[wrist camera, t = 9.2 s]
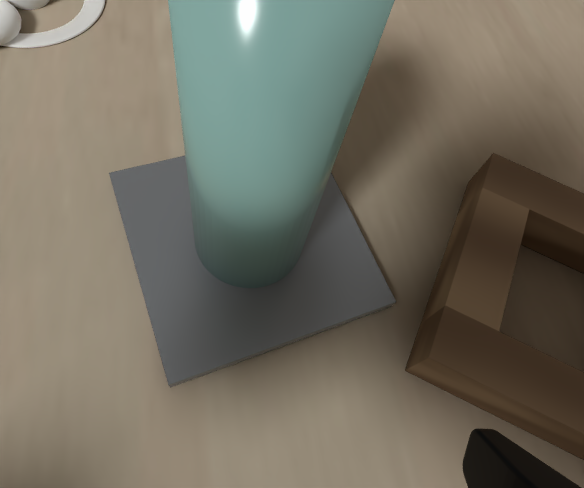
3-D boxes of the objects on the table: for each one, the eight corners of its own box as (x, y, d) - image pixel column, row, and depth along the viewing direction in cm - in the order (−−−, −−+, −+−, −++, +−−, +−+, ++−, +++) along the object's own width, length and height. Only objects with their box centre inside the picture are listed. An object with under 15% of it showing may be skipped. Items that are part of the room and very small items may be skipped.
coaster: (391, 306, 21) (396, 301, 20) (170, 387, 18) (168, 385, 17) (306, 135, 24) (308, 127, 24) (112, 180, 22) (109, 172, 21)
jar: (324, 241, 21) (463, -68, 9) (247, 310, 19) (294, 34, 7) (251, 174, 22) (288, -182, 10) (171, 233, 20) (99, -120, 8)
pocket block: (654, 494, 19) (713, 497, 16) (404, 370, 19) (428, 357, 17) (667, 273, 24) (713, 252, 21) (468, 182, 24) (493, 153, 22)
